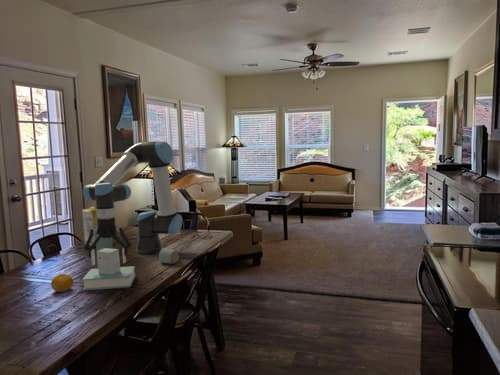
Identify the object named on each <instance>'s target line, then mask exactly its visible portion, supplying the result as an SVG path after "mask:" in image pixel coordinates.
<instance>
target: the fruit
mask: <svg viewBox="0 0 500 375" xmlns="http://www.w3.org/2000/svg"><path fill="white" fill-rule="evenodd" d="M50 286H51V288H52V289H53V290H54V291H55V292H58V293H62V292H63V293H64V292H66V291H69V290H70V289H71V288H72V287H73V286H74V279H73V277H72V276H71V275H69V274H67V273H66V274H65V273H59V274H57V275H56V276H55V277H53V278H52V280H51V283H50Z"/></svg>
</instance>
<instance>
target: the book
mask: <svg viewBox="0 0 500 375" xmlns="http://www.w3.org/2000/svg"><path fill="white" fill-rule="evenodd" d="M135 267H136V266H135V265H134V266H132V265H131V266H120V271H119V272H117V273H115V274H113V275H109V274H99V273H98V268H91V269H90V270H89V271H88V272H87V273H86V274H85V276H84V277H82V281H83V286H84V288H82V291H92V290H107V289H121V288H124V289H125V288H131V286H132V284H133V282H134V281H135V278H136V274H135Z"/></svg>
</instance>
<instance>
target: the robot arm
mask: <svg viewBox="0 0 500 375" xmlns="http://www.w3.org/2000/svg"><path fill="white" fill-rule="evenodd" d="M173 158H174V151H173V148H172V146H171V145H170V144H169V143H168V142H167V141H160V140H159V141H157V140H155V141H142V142H141V141H140V142H138V143H136V144H134V145H131V146H130V147H129V148H128V149H126V150H125V151H124V152H123V153H122V154H121V158H119V160H117V161H116V162H115V164H113V166H111V167H110V168H109V169H108V170H107V171H106V172H105V173H104V174H103V175H102V176H101V177H99V179H98V180H96V181H95V182H94V183H93V184H92V183H91V184H86V185H85V186H84V187H83V189H82V195H83V198H84V199H85V200H87V201H93V202H94V201H95V206H96V207H95V209H96V211H97V217H98V219H97V225H98V229H94V228H92V229H91V230H90V236H89V238H88V240H87V242H86V245H85V244H84V247H83V250H84V251H88V258H89V259H91V266H94V265H95V264H96V258H95V254H96V253H95V249H94V247H96V244H97V242H98V241H99V240H100V239H101V237H102V238H111V237H112V240H113V239H114V240H115V241H116V242H117V243H118V244H119V245H120V246H121V247H122V249H121V250H122V264H125V263H126V262H127V258H126V256H128V248H131V246H132V243H131V242H130V239H129V238H128V236H127V234H126V233H125V231H124V227H123V226H120V227H118V228H117V227H116V218H115V214H116V213H115V203H119V202H122V201H126V200H128V199H129V198H130V197H131V194H132V190H131V187H130V186H129V185H128V184H125V183H124V184H118V183H119V182H120V180H122V179H123V178H124V177H125V175H126V174H127V173H129V171H131V170H132V168H136V167H137V166H138V165H141V164H148V168H149V169H150V170H152V177H153V182H154V189H155V196H156V202H157V207H158V210H149V211H144V212H140V213H138V214H137V221H136V222H137V232H138V233H137V234H138V236H137V237H138V239H137V243H136V247H135V251H136V253H138V254H153V253H154V254H155V253H158V252H160V251H161V250H162V249H163V244H162V241H161V239H160V236H159V235H176V234H178V233H179V232H180V231H181V229H182V226H183V217H182V215H181V214H179V213H178V210H177V208H175V207H174V199H173V195H172V187H171V180H170V173H169V167H170V165H171V162H172V161H173ZM96 232H97V233H98V234H99V236H98V237H97V239H96V240H95V241H94V243H93V244H92V245H91V246H90V245H89V244H90V242H91V240H92V238H93V235H94V234H95V233H96ZM116 232H118V233H119V234H120V237H121V238H120V237H119V235H118V234H117V233H116Z"/></svg>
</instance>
